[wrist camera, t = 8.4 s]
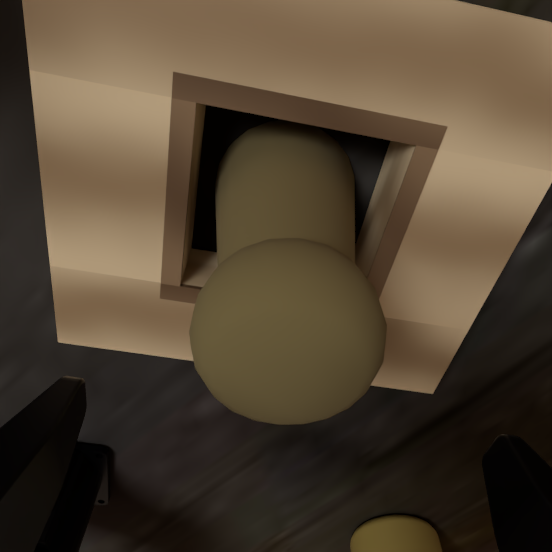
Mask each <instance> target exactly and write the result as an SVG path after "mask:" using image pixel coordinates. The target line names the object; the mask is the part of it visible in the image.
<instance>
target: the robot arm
mask: <svg viewBox="0 0 552 552" xmlns="http://www.w3.org/2000/svg"><path fill="white" fill-rule="evenodd" d="M86 406H87V403H86V388H85V381H84V380H83V379H82V378H76V377H69V376H64V377H62V378H60V379H59V380H58V381H56V382H55V383H54V384H53V385H52V386H50V387H49V388H48V389H47V390H46V391H44V392H43V393H42V394H41V395H39V396H38V397H37V398H36V399H35V400H33V401H32V402H31V403H30V404H29V405H27V406H26V407H25V408H24V409H23V410H21V411H20V412H19V413H18V414H16V415H15V416H14V417H13V418H12V419H10V420H9V421H8V422H7V423H6V424H4V425H3V426H2V427H1V428H0V552H79V549H80V546H81V543H82V540H83V537H84V534H85V531H86V528H87V525H88V522H89V519H90V516H91V513H92V510H93V507H94V505H107V504H108V502H109V499H110V477H109V451H108V449H107V448H105V447H102V446H95V445H87V444H78V443H76V442H77V439H78V436H79V432H80V429H81V426H82V423H83V420H84V417H85V413H86ZM482 467H483V472H484V478H485V484H486V489H487V495H488V501H489V506H490V512H491V518H492V523H493V528H494V533H495V537H496V541H497V545H498V549H499V552H552V468H551V467H550V466H549V465H548V464H547V463H546V462H545V461H544V460H543V459H542V458H541V457H540V456H539V455H538V454H537V453H536V452H535V451H534V450H533V449H532V448H531V447H530V446H529V445H528V444H527V443H526V442H525V441H524V440H523V439H521V438H520V437H518V436H514V435H506V434H501V435H499V436H497V437H496V439H495V440H494V442H493V443H492V444H491V446H490V447H489V448H488V450H487V451H486V452H485V454H484V456H483V460H482Z"/></svg>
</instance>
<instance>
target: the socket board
mask: <svg viewBox="0 0 552 552" xmlns="http://www.w3.org/2000/svg"><path fill="white" fill-rule="evenodd" d="M22 4H23V14H24V23H25V33H26V42H27V52H28V61H29V71H30V80H31V90H32V99H33V108H34V118H35V127H36V137H37V146H38V156H39V165H40V175H41V184H42V194H43V203H44V213H45V222H46V232H47V241H48V251H49V260H50V270H51V279H52V289H53V298H54V308H55V317H56V327H57V336H58V342H60V343H67V344H75V345H82V346H89V347H96V348H104V349H111V350H118V351H125V352H133V353H140V354H147V355H154V356H161V357H169V358H176V359H183V360H190V361H194V360H193V355H192V350H191V345H190V336H189V330H190V325H191V320H192V316H193V311H194V307H195V303H196V299H197V296H198V293H199V292H200V291H201V289H202V288H203V286H204V285H205V283H206V282H207V281H208V279H209V278H210V276H211V275H212V273H213V272H214V271H215V269H216V268H217V267H218V262H217V252H211V251H205V250H199V249H192V238H193V228H194V218H195V208H196V198H197V188H198V178H199V168H200V158H201V148H202V138H203V128H204V118H205V108H206V105H210V106H215V107H220V108H225V109H231V110H236V111H241V112H246V113H251V114H256V115H262V116H267V117H272V118H277V119H282V120H287V121H292V122H298V123H303V124H308V125H313V126H318V127H323V128H329V129H334V130H339V131H344V132H349V133H354V134H359V135H365V136H370V137H375V138H380V139H385V140H390V144H389V146H388V149H387V152H386V155H385V158H384V161H383V164H382V167H381V170H380V173H379V176H378V179H377V182H376V185H375V188H374V191H373V194H372V197H371V200H370V203H369V206H368V209H367V212H366V215H365V218H364V221H363V224H362V227H361V230H360V233H359V236H358V239H357V242H356V245H355V264H356V266H357V267H358V268H359V269H360V270H361V271H362V273H363V274H364V275H365V276H366V277H367V279H368V280H369V281H370V282H371V283H372V285H373V286H374V287H375V289H376V292H377V295H378V298H379V302H380V305H381V308H382V311H383V314H384V317H385V320H386V324H387V332H386V343H385V352H384V361H383V364H382V366H381V368H380V369H379V371H378V373H377V375H376V377H375V378H374V380H373V382H372V384H371V385H372V386H379V387H386V388H393V389H401V390H408V391H415V392H422V393H429V394H433V393H434V391H435V389H436V387H437V385H438V384H439V382H440V380H441V378H442V377H443V375H444V373H445V371H446V369H447V368H448V366H449V364H450V362H451V361H452V359H453V357H454V355H455V353H456V352H457V350H458V348H459V346H460V345H461V343H462V341H463V339H464V338H465V336H466V334H467V332H468V330H469V329H470V327H471V325H472V323H473V322H474V320H475V318H476V316H477V314H478V313H479V311H480V309H481V307H482V306H483V304H484V302H485V300H486V298H487V297H488V295H489V293H490V291H491V290H492V288H493V286H494V284H495V282H496V281H497V279H498V277H499V275H500V274H501V272H502V270H503V268H504V266H505V265H506V263H507V261H508V259H509V258H510V256H511V254H512V252H513V250H514V249H515V247H516V245H517V243H518V242H519V240H520V238H521V236H522V234H523V233H524V231H525V229H526V227H527V226H528V224H529V222H530V220H531V219H532V217H533V215H534V213H535V211H536V210H537V208H538V206H539V204H540V203H541V201H542V199H543V197H544V195H545V194H546V192H547V190H548V188H549V187H550V185H551V183H552V22H549V21H544V20H540V19H535V18H531V17H527V16H522V15H518V14H514V13H509V12H505V11H501V10H496V9H492V8H487V7H483V6H479V5H474V4H470V3H466V2H461V1H457V0H22Z"/></svg>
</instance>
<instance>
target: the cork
mask: <svg viewBox="0 0 552 552" xmlns="http://www.w3.org/2000/svg"><path fill="white" fill-rule="evenodd" d="M215 201H216V231H217V262H218V267H217V268H216V269H215V271H214V272H213V273H212V275H211V276H210V278H209V279H208V281H207V282H206V283H205V285H204V286H203V288H202V289H201V291H200V292H199V293H198V296H197V299H196V303H195V307H194V311H193V316H192V320H191V325H190V330H189V336H190V345H191V350H192V355H193V360H194V364H195V369H196V370H197V372H198V373H199V375H200V376H201V378H202V380H203V381H204V383H205V384H206V386H207V387H208V389H209V390H210V391H211V393H212V394H213V396H214V397H215V398H216V399H217V400H218V401H220V402H221V403H222V404H224V405H225V406H226V407H227V408H229V409H230V410H231V411H233V412H235V413H238V414H240V415H242V416H245V417H247V418H250V419H252V420H254V421H260V422H265V423H271V424H277V425H292V424H307V423H311V422H315V421H319V420H324V419H328V418H330V417H332V416H334V415H336V414H338V413H340V412H342V411H344V410H346V409H348V408H350V407H351V406H352V405H353V404H354V403H355V402H357V401H358V400H359V399H360V398H361V397H362V396H363V395H364V394H366V392H367V390H368V389H369V387H370V385H371V384H372V382H373V380H374V378H375V377H376V375H377V373H378V371H379V369H380V368H381V366H382V364H383V361H384V352H385V343H386V332H387V324H386V320H385V317H384V314H383V311H382V308H381V305H380V302H379V298H378V295H377V292H376V289H375V287H374V286H373V285H372V283H371V282H370V281H369V280H368V279H367V277H366V276H365V275H364V274H363V273H362V271H361V270H360V269H359V268H358V267H357V266H356V264H355V177H354V174H353V170H352V167H351V164H350V160H349V157H348V156H347V154H346V153H345V151H344V150H343V149H342V147H341V146H340V145H339V143H338V142H337V141H336V139H334V138H333V137H331V136H330V135H329V134H327V133H326V132H324V131H323V130H321V129H320V128H318V127H317V126H313V125H308V124H303V123H298V122H292V121H287V120H283V121H269V122H266V123H264V124H261V125H259V126H256V127H253V128H251V129H248V130H247V131H246V132H244V133H243V134H242V135H241V136H240V137H238V138H237V139H236V140H235V141H234V142H232V143H231V144H230V146H229V147H228V149H227V151H226V152H225V154H224V156H223V157H222V159H221V161H220V162H219V166H218V171H217V176H216V180H215Z"/></svg>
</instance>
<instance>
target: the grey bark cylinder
mask: <svg viewBox="0 0 552 552" xmlns="http://www.w3.org/2000/svg"><path fill="white" fill-rule="evenodd" d="M350 546H351V552H442V548H441V545H440V541H439V537H438V535H437V532H436V531H435V529H434V528H433V527H432V526H431V525H430V524H429V523H427V522H426V521H424V520H422V519H420V518H417V517H413V516H408V515H387V516H381V517H377V518H374V519H371V520H369V521H367V522H365V523H364V524H362V525H361V526H359V527H358V528H357V529H356V530H355V532H354V534H353V536H352V538H351V544H350Z"/></svg>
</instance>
